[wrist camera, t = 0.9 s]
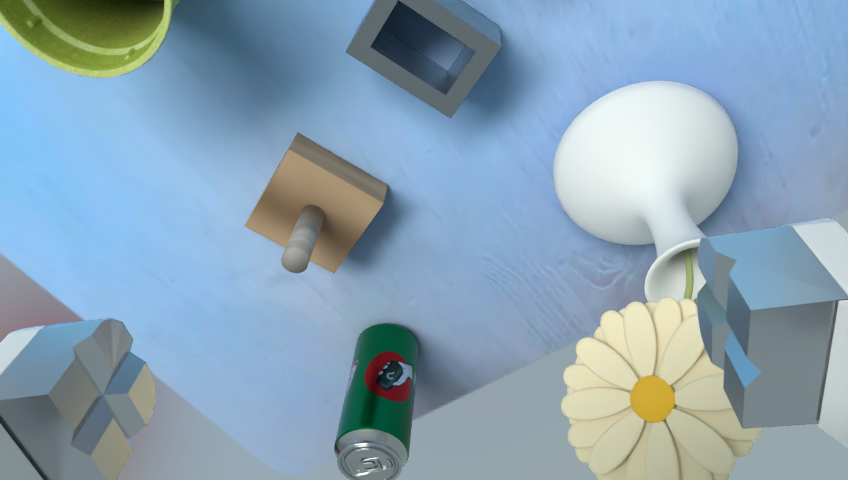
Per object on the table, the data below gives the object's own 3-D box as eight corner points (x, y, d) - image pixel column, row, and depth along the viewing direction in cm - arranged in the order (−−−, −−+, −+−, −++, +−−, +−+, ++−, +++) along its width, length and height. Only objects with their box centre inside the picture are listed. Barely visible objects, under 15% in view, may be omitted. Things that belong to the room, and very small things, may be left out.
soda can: (349, 324, 53) (320, 445, 43) (409, 314, 52) (395, 435, 42) (368, 369, 55) (345, 493, 45) (426, 360, 54) (416, 485, 44)
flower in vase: (709, 41, 39) (982, 312, 18) (744, 196, 44) (986, 542, 24) (501, 122, 42) (530, 427, 22) (558, 256, 48) (624, 603, 27)
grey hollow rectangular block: (356, 31, 40) (345, 52, 36) (398, -43, 37) (391, -28, 34) (452, 93, 42) (450, 118, 38) (499, 26, 39) (501, 46, 36)
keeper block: (297, 132, 44) (266, 191, 37) (387, 185, 46) (373, 250, 39) (254, 207, 47) (218, 273, 41) (339, 253, 49) (319, 324, 42)
